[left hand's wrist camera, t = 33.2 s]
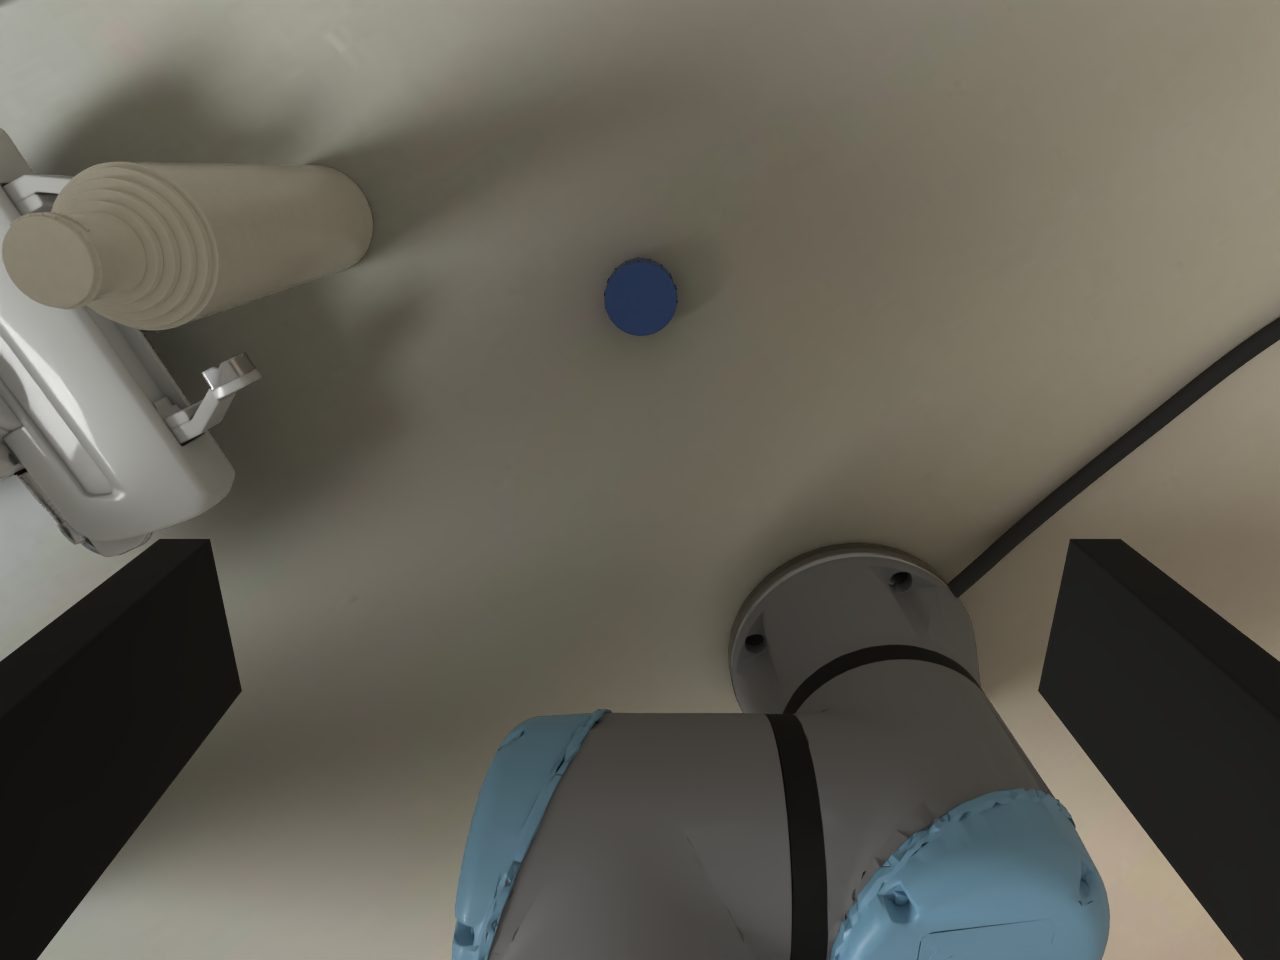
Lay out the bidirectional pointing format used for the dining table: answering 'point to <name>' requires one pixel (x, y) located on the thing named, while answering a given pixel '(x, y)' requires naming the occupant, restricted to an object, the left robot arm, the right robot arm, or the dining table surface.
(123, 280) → the bottle
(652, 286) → the cap
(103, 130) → the dining table surface
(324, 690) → the dining table surface
